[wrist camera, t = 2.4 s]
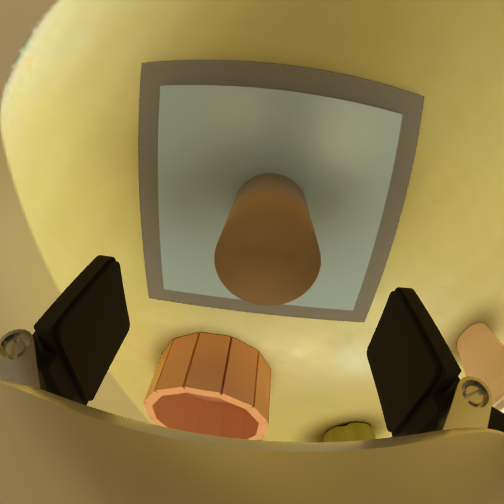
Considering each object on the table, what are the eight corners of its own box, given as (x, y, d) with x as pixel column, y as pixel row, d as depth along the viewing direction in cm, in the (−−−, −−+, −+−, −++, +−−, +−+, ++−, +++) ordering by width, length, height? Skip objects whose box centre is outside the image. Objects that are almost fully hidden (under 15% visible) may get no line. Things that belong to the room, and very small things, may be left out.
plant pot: (296, 443, 32) (296, 502, 24) (334, 410, 27) (341, 482, 20) (356, 448, 33) (361, 501, 25) (398, 416, 28) (411, 477, 21)
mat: (145, 64, 14) (141, 63, 13) (420, 96, 13) (424, 96, 13) (151, 294, 21) (149, 297, 21) (362, 317, 21) (364, 322, 21)
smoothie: (435, 363, 23) (477, 485, 11) (459, 313, 20) (527, 447, 8) (480, 355, 23) (526, 460, 11) (505, 308, 20) (571, 418, 8)
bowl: (157, 324, 23) (134, 375, 18) (277, 341, 23) (275, 398, 18) (169, 391, 28) (155, 434, 23) (262, 405, 27) (259, 451, 22)
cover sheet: (164, 86, 14) (101, 82, 8) (398, 113, 14) (463, 126, 8) (166, 284, 20) (131, 352, 14) (351, 305, 20) (371, 378, 14)
